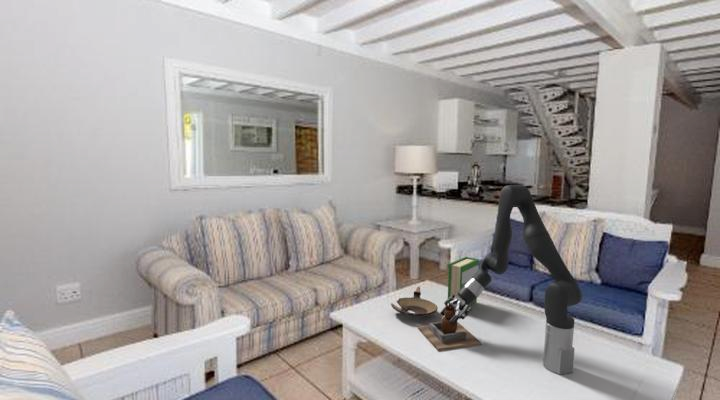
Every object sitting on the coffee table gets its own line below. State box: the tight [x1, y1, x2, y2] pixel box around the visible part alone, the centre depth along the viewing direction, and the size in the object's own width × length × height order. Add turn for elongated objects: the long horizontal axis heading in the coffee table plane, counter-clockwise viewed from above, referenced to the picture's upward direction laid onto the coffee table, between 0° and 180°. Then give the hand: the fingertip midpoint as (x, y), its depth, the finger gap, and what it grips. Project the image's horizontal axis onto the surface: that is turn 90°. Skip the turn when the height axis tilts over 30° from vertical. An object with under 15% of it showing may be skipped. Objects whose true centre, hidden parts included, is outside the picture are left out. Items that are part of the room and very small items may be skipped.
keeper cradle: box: [417, 321, 482, 352], centre depth 168 cm, size 20×20×4 cm
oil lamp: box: [390, 286, 438, 318], centre depth 193 cm, size 22×30×8 cm
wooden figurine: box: [440, 300, 458, 334], centre depth 167 cm, size 7×6×15 cm
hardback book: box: [447, 256, 480, 311], centre depth 199 cm, size 18×7×24 cm, turn 137°
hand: (446, 318), depth 167 cm, fingers open, 8 cm apart
